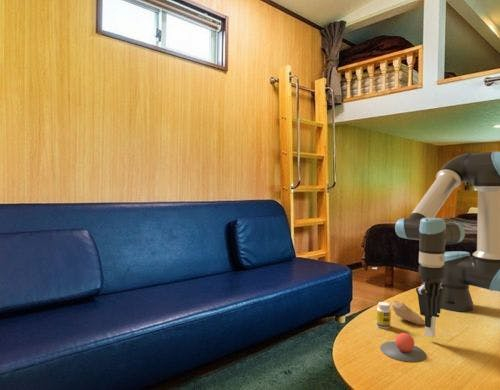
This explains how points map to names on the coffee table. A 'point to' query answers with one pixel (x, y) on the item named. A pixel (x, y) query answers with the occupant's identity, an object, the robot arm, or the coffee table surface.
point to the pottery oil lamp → (406, 313)
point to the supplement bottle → (383, 315)
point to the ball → (404, 342)
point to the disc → (403, 353)
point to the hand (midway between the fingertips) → (429, 335)
